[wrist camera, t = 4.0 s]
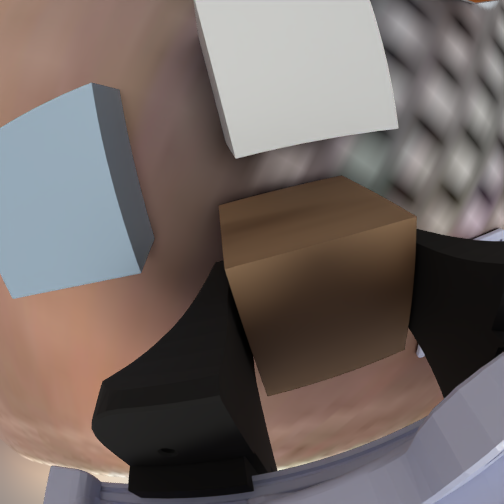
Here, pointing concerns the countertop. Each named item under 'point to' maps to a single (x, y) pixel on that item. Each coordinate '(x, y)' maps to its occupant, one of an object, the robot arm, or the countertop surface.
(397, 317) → the walnut block
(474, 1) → the skincare box
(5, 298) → the countertop surface
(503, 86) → the countertop surface
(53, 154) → the base block
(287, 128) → the grey block
